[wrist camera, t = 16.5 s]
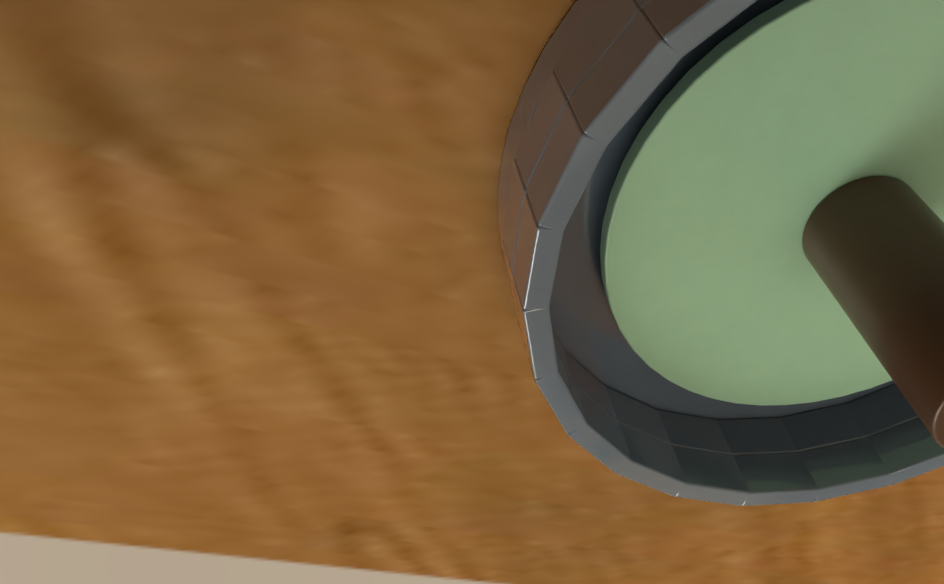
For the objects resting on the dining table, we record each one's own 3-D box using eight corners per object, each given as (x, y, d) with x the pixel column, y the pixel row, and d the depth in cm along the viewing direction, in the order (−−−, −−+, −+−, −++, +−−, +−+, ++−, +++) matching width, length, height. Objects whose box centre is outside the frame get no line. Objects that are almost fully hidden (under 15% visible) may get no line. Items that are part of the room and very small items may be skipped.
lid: (506, 317, 23) (565, 549, 18) (804, -160, 17) (1039, -24, 11) (857, 416, 28) (990, 624, 22) (1198, 70, 21) (1500, 246, 16)
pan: (466, 411, 27) (486, 520, 24) (551, -220, 17) (605, -170, 14) (965, 395, 30) (1040, 491, 27) (1303, -154, 20) (1488, -100, 16)
